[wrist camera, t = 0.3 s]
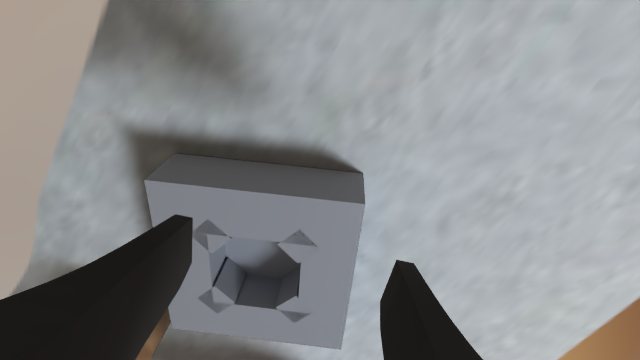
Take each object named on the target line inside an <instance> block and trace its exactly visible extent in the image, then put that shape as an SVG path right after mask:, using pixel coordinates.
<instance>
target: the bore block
mask: <svg viewBox="0 0 640 360" xmlns="http://www.w3.org/2000/svg"><path fill="white" fill-rule="evenodd" d="M144 182H145V188H146V193H147V198H148V203H149V209H150V214H151V219H152V225H153V227H155V226H157V225H158V224H160V223H162V222H163V221H165V220H166V219H168V218H170V217H171V216H173V215H175V214H177V215H182V216H187V217H192V218H193V234H192V263H191V266H190V268H189V270H188V272H187V274H186V277H185V279H184V281H183V283H182V285H181V287H180V289H179V290H178V292H177V294H176V295H175V297H174V299H173V300H172V302H171V303H170V305H169V307H168V309H169V314H170V320H171V325H172V329H180V330H188V331H196V332H204V333H212V334H221V335H229V336H237V337H245V338H253V339H261V340H269V341H277V342H285V343H293V344H301V345H309V346H317V347H325V348H333V349H341V346H342V340H343V334H344V328H345V322H346V316H347V310H348V304H349V298H350V292H351V286H352V280H353V274H354V268H355V262H356V256H357V250H358V244H359V238H360V232H361V226H362V220H363V214H364V208H365V194H364V179H363V173H355V172H346V171H336V170H327V169H317V168H308V167H299V166H289V165H280V164H270V163H261V162H252V161H242V160H233V159H223V158H214V157H204V156H195V155H186V154H176V153H174V154H173V155H172V156H171V157H169V158H168V159H167V160H166V161H165V162H164V163H163V164H162V165H160V166H159V167H158V168H157V169H156V170H155V171H154V172H153V173H151V174H150V175H149V176H148V177H147V178H146V179H145V180H144Z"/></svg>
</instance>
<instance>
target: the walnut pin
mask: <svg viewBox="0 0 640 360" xmlns="http://www.w3.org/2000/svg"><path fill="white" fill-rule="evenodd" d="M170 323H171V320H170V314H169V309H168V308H167V310H166V311H165V313H164V314H163V316H162V318H161V319H160V321H159V322H158V324H157V325H156V327H155V329H154V330H153V332H152V333H151V335H150V336H149V338H148V340H147V341H146V343H145V344H144V346H143V348H142V349H141V351H140V353H139V354H138V356H137V358H136V360H150V359H151V357H152V355H153V353H154V352H155V350H156V348H157V346H158V344H159V343H160V341H161V339H162V337H163V335H164V333H165V332H166V330H167V328H168V326H169V324H170Z"/></svg>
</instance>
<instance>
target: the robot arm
mask: <svg viewBox="0 0 640 360" xmlns="http://www.w3.org/2000/svg"><path fill="white" fill-rule="evenodd" d="M192 234H193V218H192V217H187V216H182V215H177V214H175V215H173V216H171V217H170V218H168V219H166V220H165V221H163V222H162V223H160V224H158V225H157V226H155V227H153V228H152V229H150V230H148V231H147V232H145V233H143V234H142V235H140V236H138V237H137V238H135V239H133V240H132V241H130V242H128V243H127V244H125V245H123V246H121V247H120V248H118V249H116V250H114V251H112V252H110V253H108V254H106V255H105V256H103V257H101V258H99V259H97V260H95V261H93V262H91V263H89V264H87V265H85V266H83V267H81V268H79V269H77V270H75V271H72V272H70V273H68V274H66V275H63V276H61V277H59V278H56V279H54V280H52V281H49V282H47V283H44V284H42V285H39V286H36V287H34V288H31V289H28V290H26V291H23V292H21V293H18V294H15V295H13V296H10V297H7V298H4V299H1V300H0V360H136V358H137V356H138V354H139V353H140V351H141V349H142V348H143V346H144V344H145V343H146V341H147V340H148V338H149V336H150V335H151V333H152V332H153V330H154V329H155V327H156V325H157V324H158V322H159V321H160V319H161V318H162V316H163V314H164V313H165V311H166V310H167V308H168V307H169V305H170V303H171V302H172V300H173V299H174V297H175V295H176V294H177V292H178V290H179V289H180V287H181V285H182V283H183V281H184V279H185V277H186V274H187V272H188V270H189V268H190V266H191V263H192ZM380 330H381V339H382V347H383V355H384V360H483V359H482V358H481V357H480V356H479V355H478V353H477V352H476V351H475V350H474V349H473V347H472V346H471V345H470V344H469V343H468V341H467V340H466V339H465V337H464V336H463V335H462V334H461V332H460V331H459V330H458V328H457V327H456V326H455V324H454V323H453V322H452V320H451V319H450V318H449V316H448V315H447V313H446V312H445V310H444V309H443V308H442V306H441V305H440V303H439V302H438V300H437V299H436V297H435V296H434V294H433V293H432V291H431V290H430V288H429V287H428V285H427V283H426V282H425V280H424V279H423V277H422V276H421V274H420V272H419V271H418V269H417V268H416V266H415V265H414V263H409V262H404V261H400V260H396V263H395V265H394V268H393V270H392V273H391V275H390V278H389V280H388V283H387V285H386V288H385V290H384V293H383V296H382V298H381V301H380Z"/></svg>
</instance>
